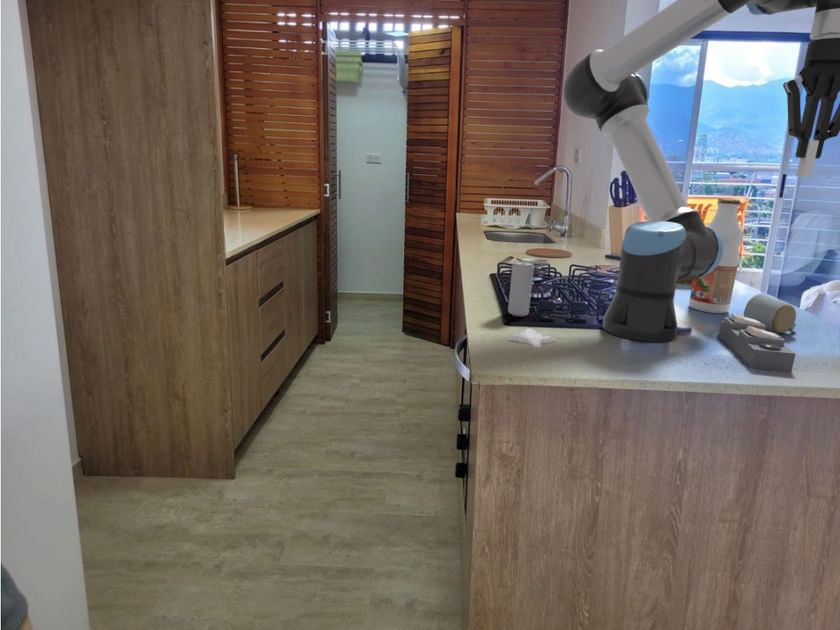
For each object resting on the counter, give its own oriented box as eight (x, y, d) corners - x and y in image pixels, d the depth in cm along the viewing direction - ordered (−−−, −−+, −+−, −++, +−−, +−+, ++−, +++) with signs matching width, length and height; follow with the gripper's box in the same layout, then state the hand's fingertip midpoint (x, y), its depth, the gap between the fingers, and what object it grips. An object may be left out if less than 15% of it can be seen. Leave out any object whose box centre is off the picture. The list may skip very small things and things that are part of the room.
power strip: (750, 367, 107) (755, 343, 106) (717, 336, 126) (721, 315, 125) (791, 371, 106) (797, 347, 105) (752, 339, 125) (756, 319, 124)
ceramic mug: (771, 336, 128) (779, 302, 126) (739, 325, 136) (747, 293, 134) (804, 334, 132) (812, 301, 130) (771, 323, 140) (778, 292, 138)
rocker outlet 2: (751, 334, 111) (754, 329, 111) (745, 330, 114) (748, 325, 114) (777, 342, 110) (779, 337, 110) (770, 337, 113) (772, 332, 113)
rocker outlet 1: (735, 322, 120) (737, 317, 120) (730, 318, 123) (732, 313, 123) (758, 328, 119) (761, 323, 119) (753, 324, 122) (755, 319, 122)
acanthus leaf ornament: (507, 342, 116) (508, 333, 115) (523, 335, 121) (524, 326, 121) (541, 351, 112) (542, 342, 111) (556, 343, 117) (557, 334, 116)
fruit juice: (728, 316, 144) (751, 201, 136) (687, 310, 148) (707, 198, 140) (728, 308, 152) (750, 199, 145) (689, 302, 156) (708, 196, 149)
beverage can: (505, 314, 134) (510, 263, 131) (510, 310, 138) (515, 260, 135) (526, 318, 132) (531, 266, 129) (530, 313, 137) (536, 262, 133)
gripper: (802, 34, 100) (773, 175, 107) (887, 36, 98) (852, 179, 104) (785, 43, 107) (758, 174, 114) (863, 44, 105) (831, 178, 112)
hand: (803, 176), depth 109 cm, fingers closed
